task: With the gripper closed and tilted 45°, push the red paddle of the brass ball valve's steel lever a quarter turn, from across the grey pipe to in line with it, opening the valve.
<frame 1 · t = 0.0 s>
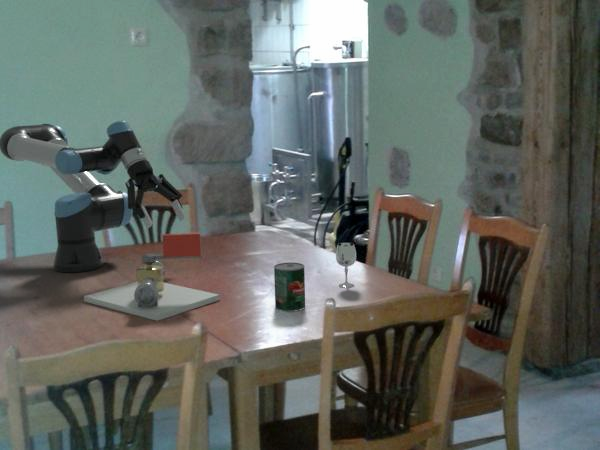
hand: (167, 222, 243), 15 cm above the table, tool tilted 35°, fingers open, 13 cm apart
canned tomato: (290, 307, 205), on the table
valve body: (150, 279, 212), on the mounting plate, point 6 cm above the table
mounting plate: (151, 300, 214), on the table
valve lever: (171, 247, 211), point 14 cm above the table, hinge at 45.0°
wineglass: (346, 286, 224), on the table
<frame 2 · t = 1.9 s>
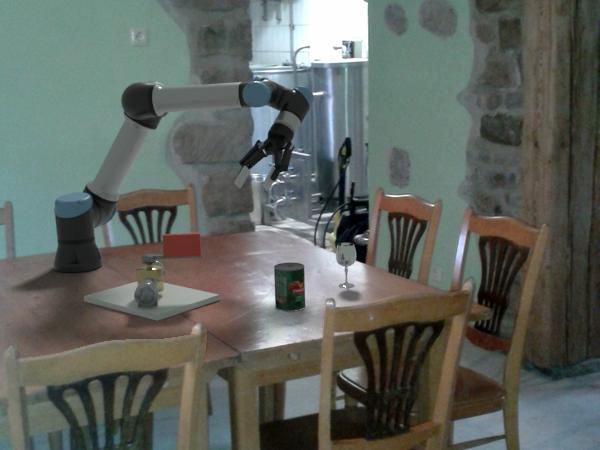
hand: (251, 186, 231), 27 cm above the table, tool tilted 45°, fingers open, 10 cm apart
nothing on the table moved.
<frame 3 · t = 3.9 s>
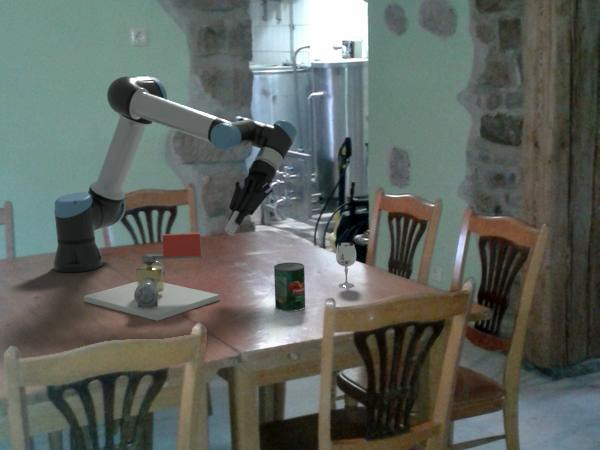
hand: (228, 232, 220), 16 cm above the table, tool tilted 45°, fingers closed
nothing on the table moved.
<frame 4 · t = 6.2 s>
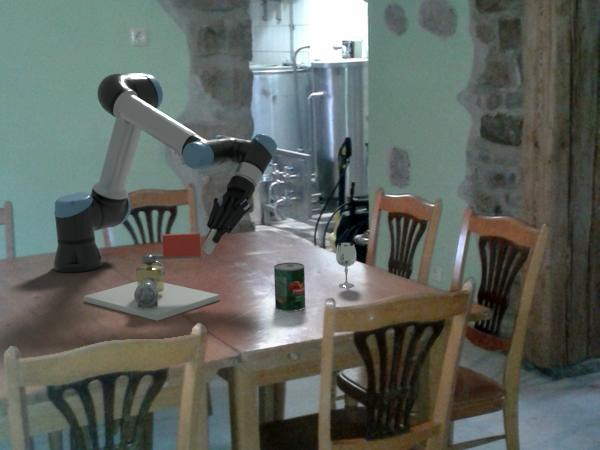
hand: (205, 251, 214), 13 cm above the table, tool tilted 45°, fingers closed
valve lever: (171, 247, 211), point 14 cm above the table, hinge at 43.8°, touching gripper
everything else where it was.
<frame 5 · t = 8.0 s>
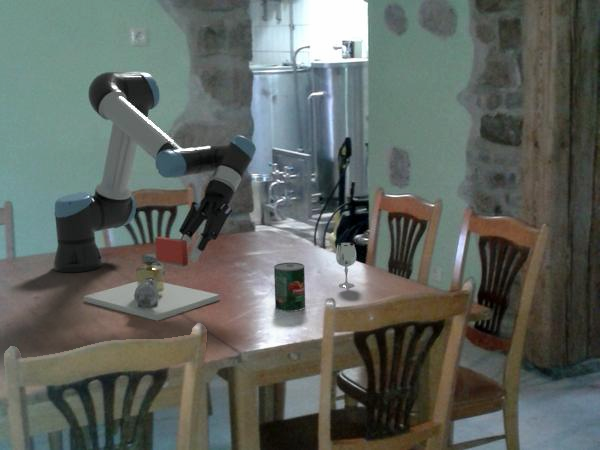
hand: (184, 258, 206), 13 cm above the table, tool tilted 45°, fingers closed on valve lever, 5 cm apart
valve lever: (163, 251, 207), point 14 cm above the table, hinge at 1.2°, touching gripper
everything else where it was.
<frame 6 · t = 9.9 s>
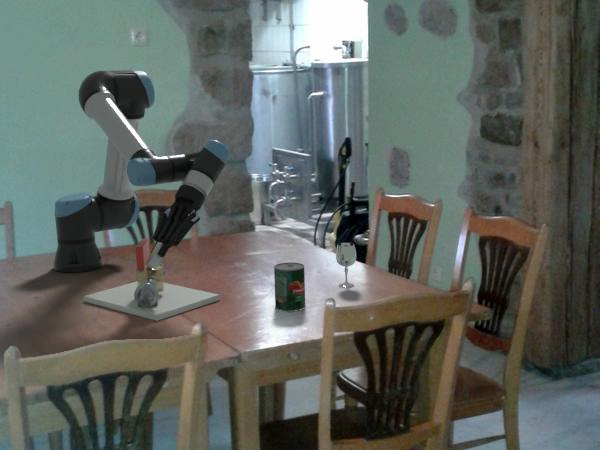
hand: (150, 266, 199), 13 cm above the table, tool tilted 45°, fingers closed
valve lever: (144, 254, 205), point 14 cm above the table, hinge at -48.5°, touching gripper
everything else where it was.
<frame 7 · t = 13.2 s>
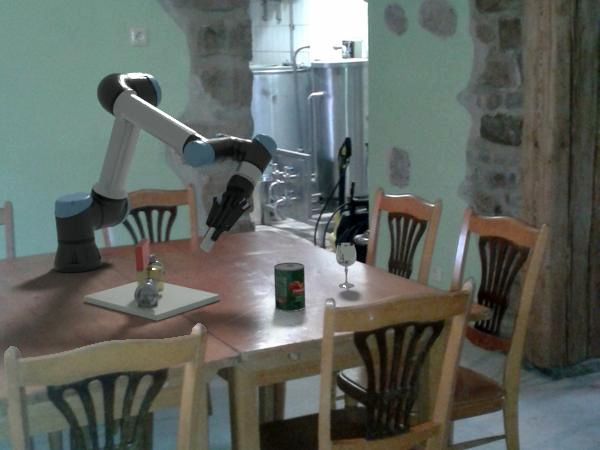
hand: (204, 249, 215), 13 cm above the table, tool tilted 45°, fingers closed
valve lever: (144, 254, 205), point 14 cm above the table, hinge at -49.1°
everything else where it was.
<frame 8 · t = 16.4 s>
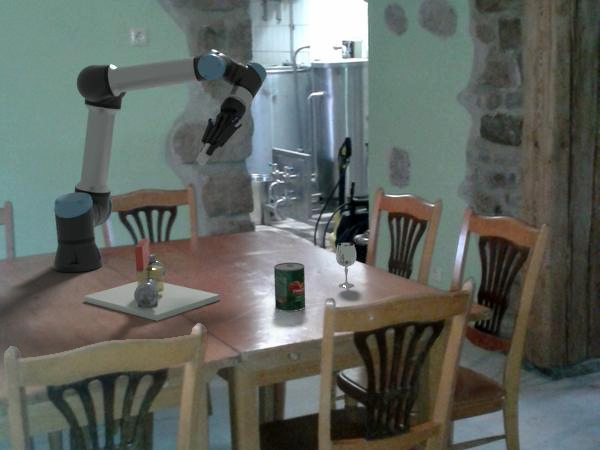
hand: (200, 162, 236), 34 cm above the table, tool tilted 45°, fingers closed
nothing on the table moved.
at the end: valve lever at -49° (first picture: +45°) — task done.
